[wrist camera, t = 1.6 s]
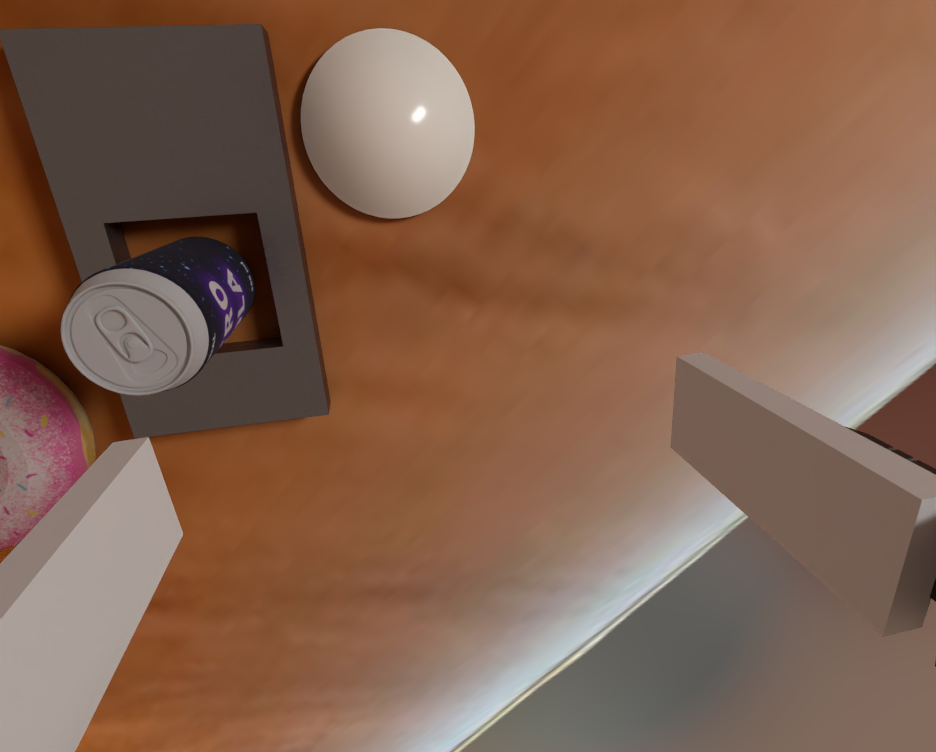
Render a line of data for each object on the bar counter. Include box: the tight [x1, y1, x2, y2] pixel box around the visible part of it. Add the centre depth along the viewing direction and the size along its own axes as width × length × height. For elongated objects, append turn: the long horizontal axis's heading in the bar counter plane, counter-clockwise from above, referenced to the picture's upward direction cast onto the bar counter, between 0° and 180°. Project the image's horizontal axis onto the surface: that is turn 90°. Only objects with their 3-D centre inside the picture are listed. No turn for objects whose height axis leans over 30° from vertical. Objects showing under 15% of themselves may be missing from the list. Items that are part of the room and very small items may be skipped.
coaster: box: [301, 28, 475, 218], centre depth 31 cm, size 10×10×1 cm
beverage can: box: [61, 237, 255, 396], centre depth 27 cm, size 6×6×12 cm
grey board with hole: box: [0, 24, 330, 439], centre depth 31 cm, size 22×12×2 cm, turn 3°
